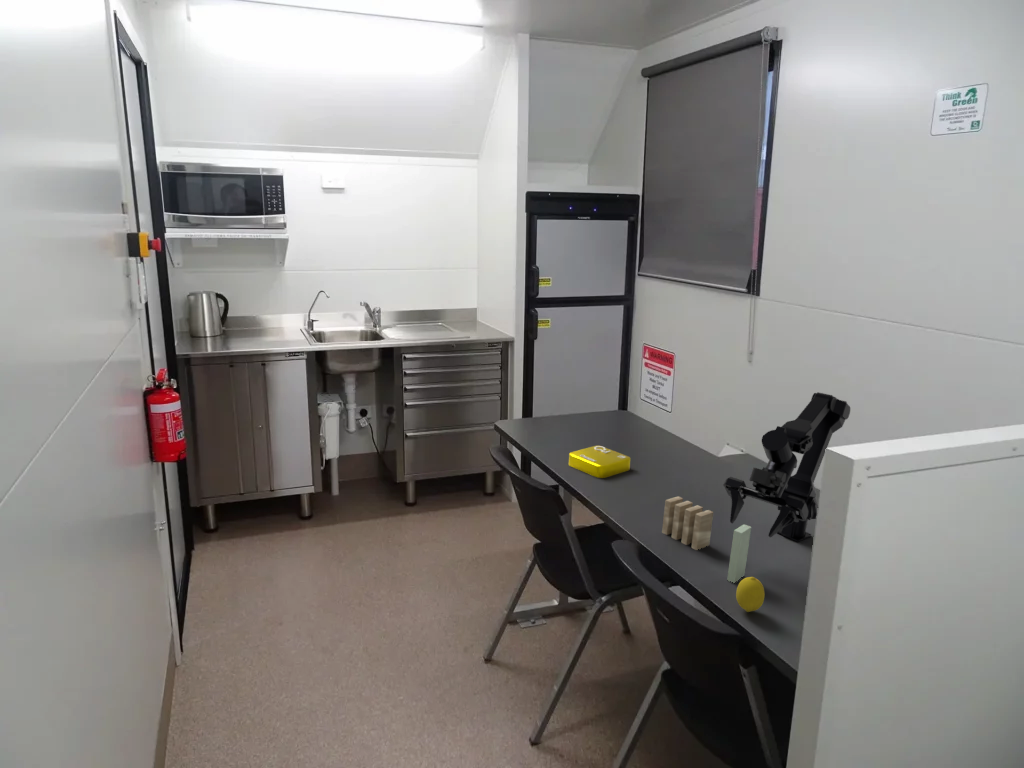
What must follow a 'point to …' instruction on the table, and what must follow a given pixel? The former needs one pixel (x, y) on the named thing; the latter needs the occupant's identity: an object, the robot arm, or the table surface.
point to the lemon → (750, 594)
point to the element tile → (599, 461)
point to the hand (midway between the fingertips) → (750, 529)
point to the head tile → (739, 553)
